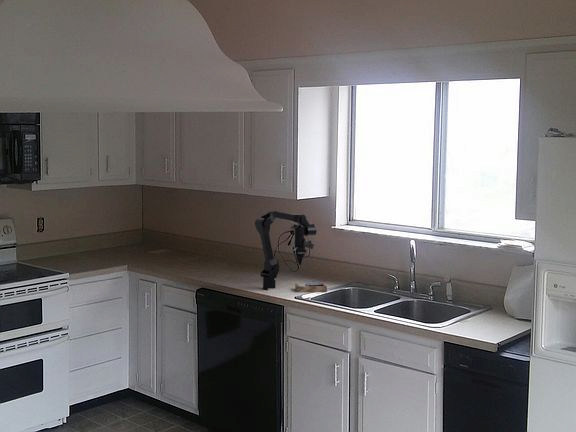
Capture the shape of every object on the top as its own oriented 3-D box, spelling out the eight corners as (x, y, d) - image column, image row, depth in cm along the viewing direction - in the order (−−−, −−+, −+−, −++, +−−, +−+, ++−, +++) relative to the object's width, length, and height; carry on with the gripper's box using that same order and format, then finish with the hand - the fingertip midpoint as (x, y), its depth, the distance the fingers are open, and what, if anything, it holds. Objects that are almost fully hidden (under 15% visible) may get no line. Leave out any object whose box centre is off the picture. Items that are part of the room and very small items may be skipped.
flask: (307, 285, 404) (304, 283, 415) (307, 290, 404) (304, 288, 415) (324, 283, 405) (320, 281, 416) (324, 289, 405) (321, 287, 416)
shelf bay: (297, 292, 400) (298, 286, 399) (295, 288, 411) (295, 283, 411) (326, 292, 401) (326, 286, 401) (323, 288, 413) (323, 283, 413)
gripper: (315, 237, 416) (315, 265, 417) (310, 235, 435) (310, 261, 436) (295, 237, 415) (295, 265, 416) (291, 234, 433) (291, 261, 434)
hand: (298, 263), depth 425 cm, fingers open, 9 cm apart
